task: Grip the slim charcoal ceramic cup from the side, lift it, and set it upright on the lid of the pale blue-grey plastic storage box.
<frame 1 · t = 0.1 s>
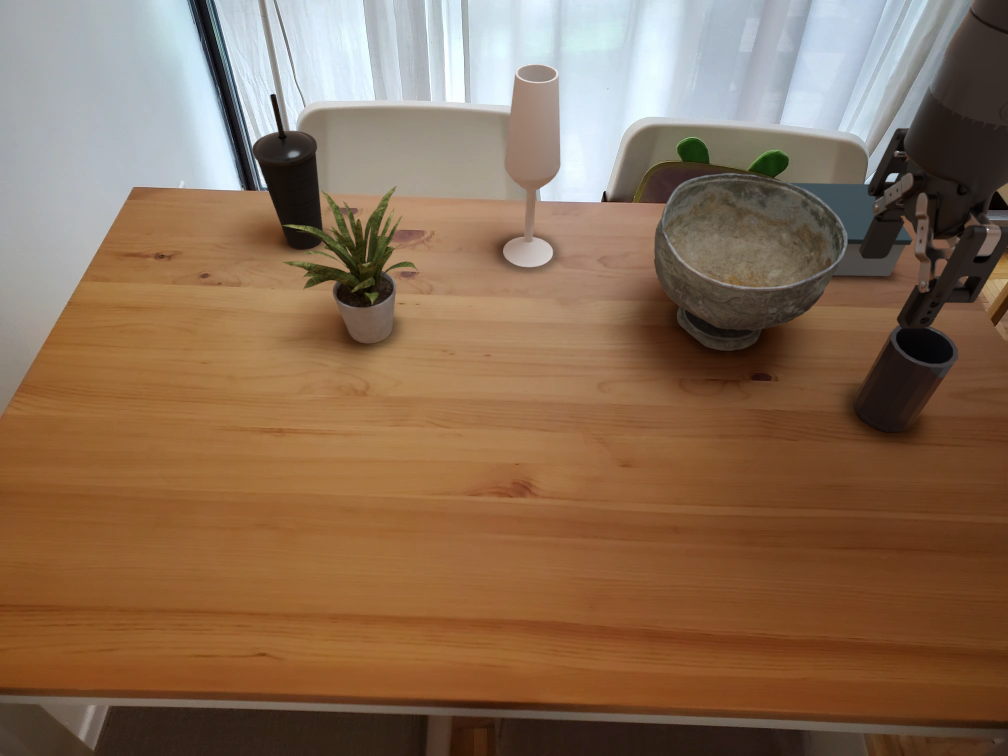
hand: (889, 288, 58), 22 cm above the table, tool pointing down, fingers open, 8 cm apart
bowl: (720, 327, 87), on the table
house plant: (371, 321, 86), on the table
container: (829, 247, 98), on the table
champagne flute: (528, 252, 96), on the table
drinking cup: (305, 239, 97), on the table
cup: (883, 410, 78), on the table
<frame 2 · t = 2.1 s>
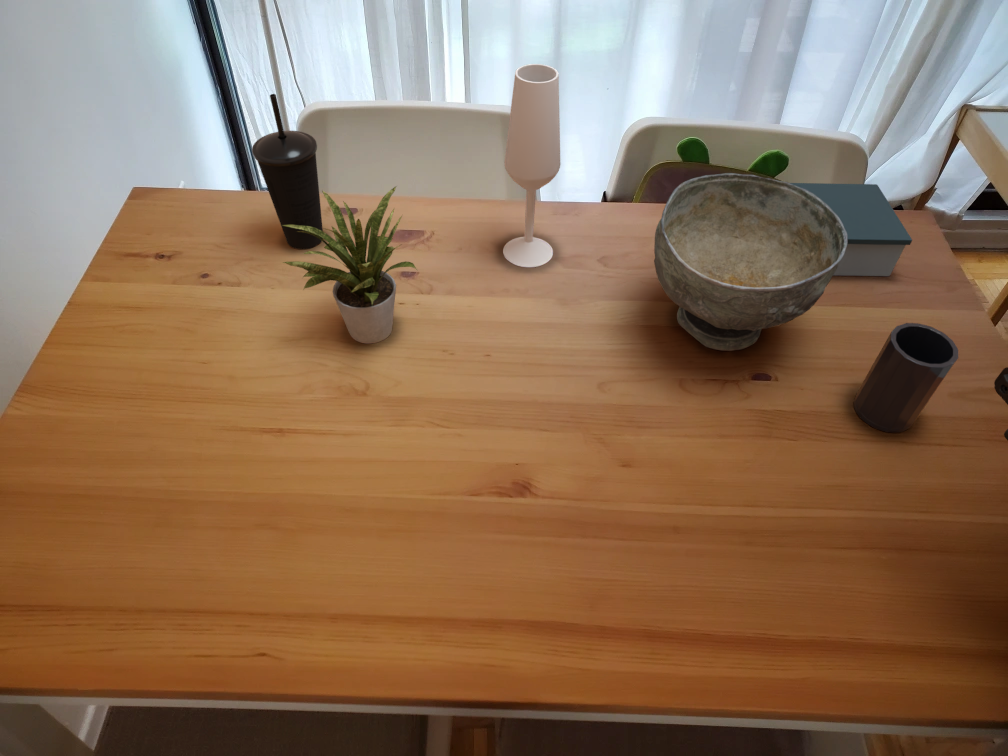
nothing on the table moved.
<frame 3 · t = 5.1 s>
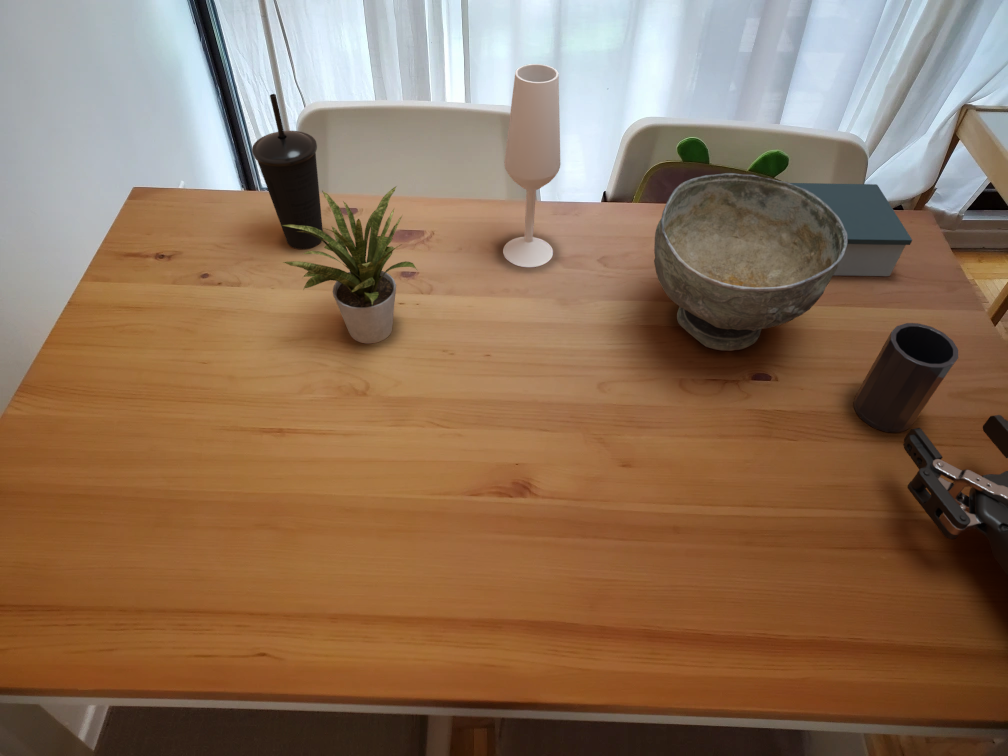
hand: (950, 427, 69), 6 cm above the table, tool horizontal, fingers open, 8 cm apart
nothing on the table moved.
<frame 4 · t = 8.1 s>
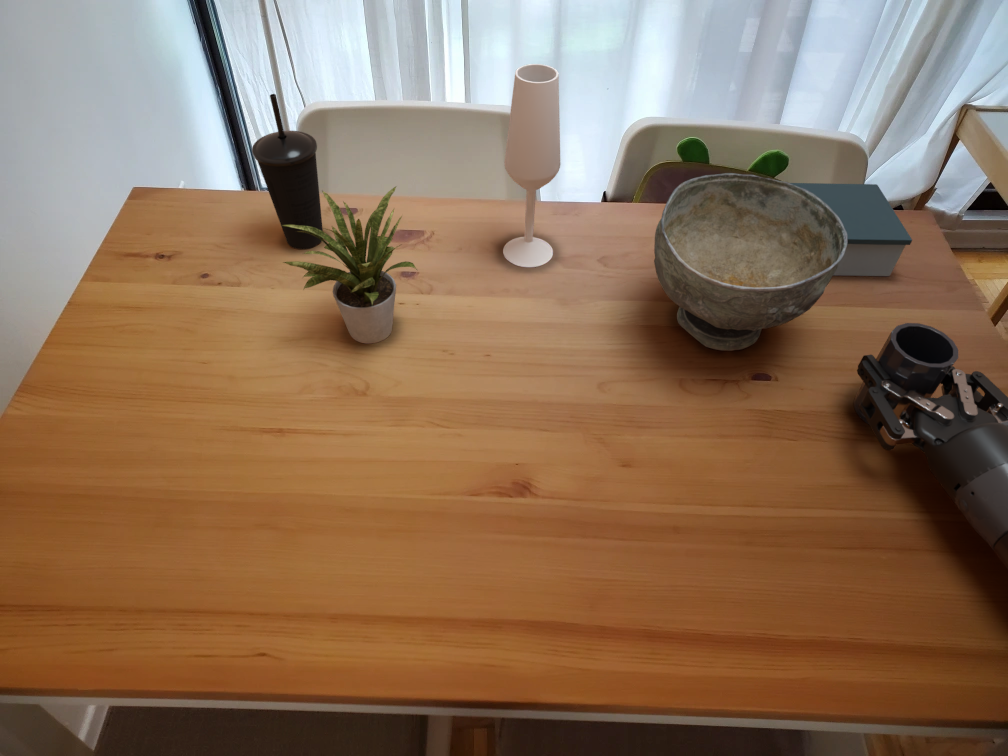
hand: (893, 356, 75), 6 cm above the table, tool horizontal, fingers closed on cup, 6 cm apart
cup: (883, 410, 78), on the table, touching gripper
everything else where it was.
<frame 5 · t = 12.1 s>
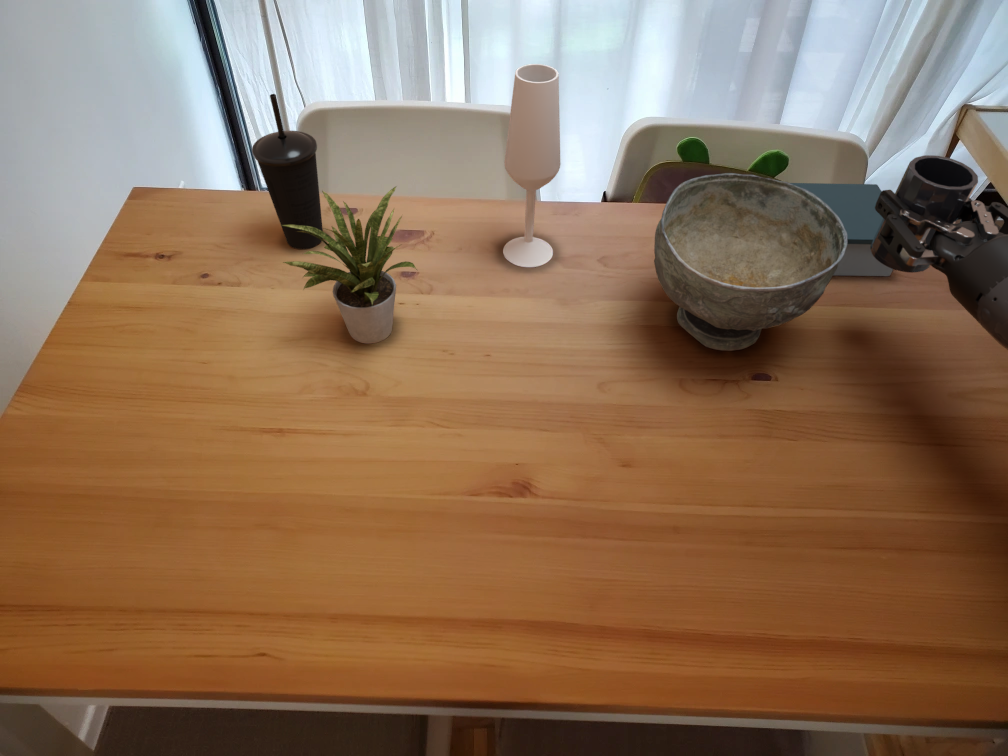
hand: (911, 194, 74), 18 cm above the table, tool horizontal, fingers closed on cup, 6 cm apart
cup: (900, 254, 77), point 12 cm above the table, touching gripper
everything else where it was.
when the fingers open (12 cm above the table, at t = 16.5 s): cup stays where it is, resting on container.
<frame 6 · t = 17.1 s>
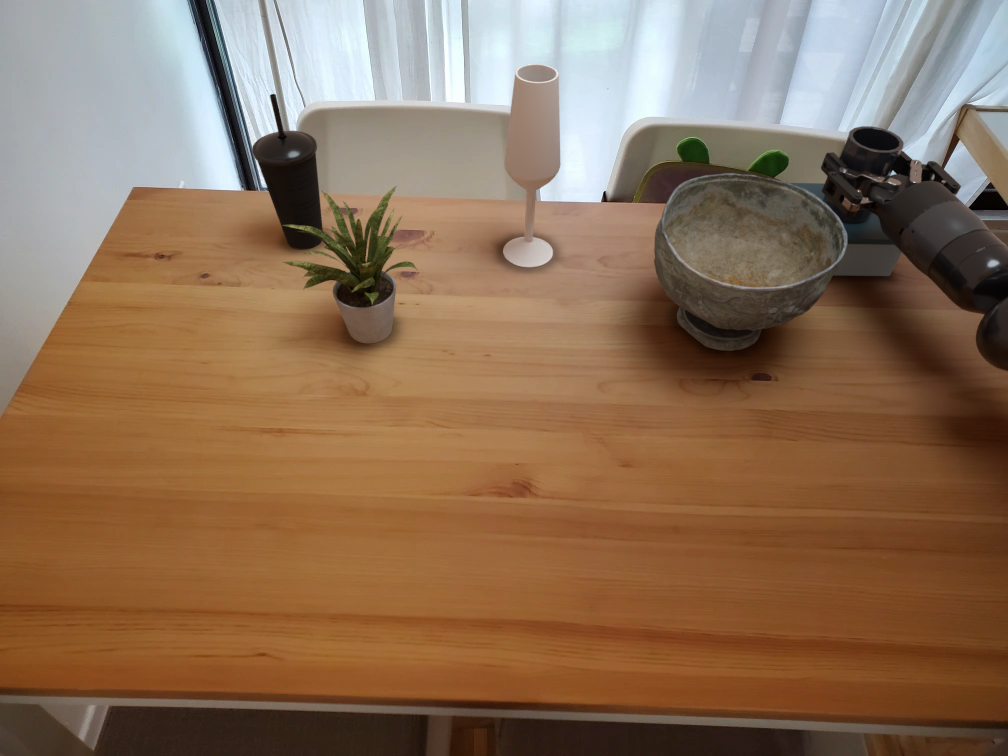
hand: (857, 155, 90), 13 cm above the table, tool horizontal, fingers open, 8 cm apart
cup: (845, 210, 93), point 6 cm above the table, touching container
everything else where it was.
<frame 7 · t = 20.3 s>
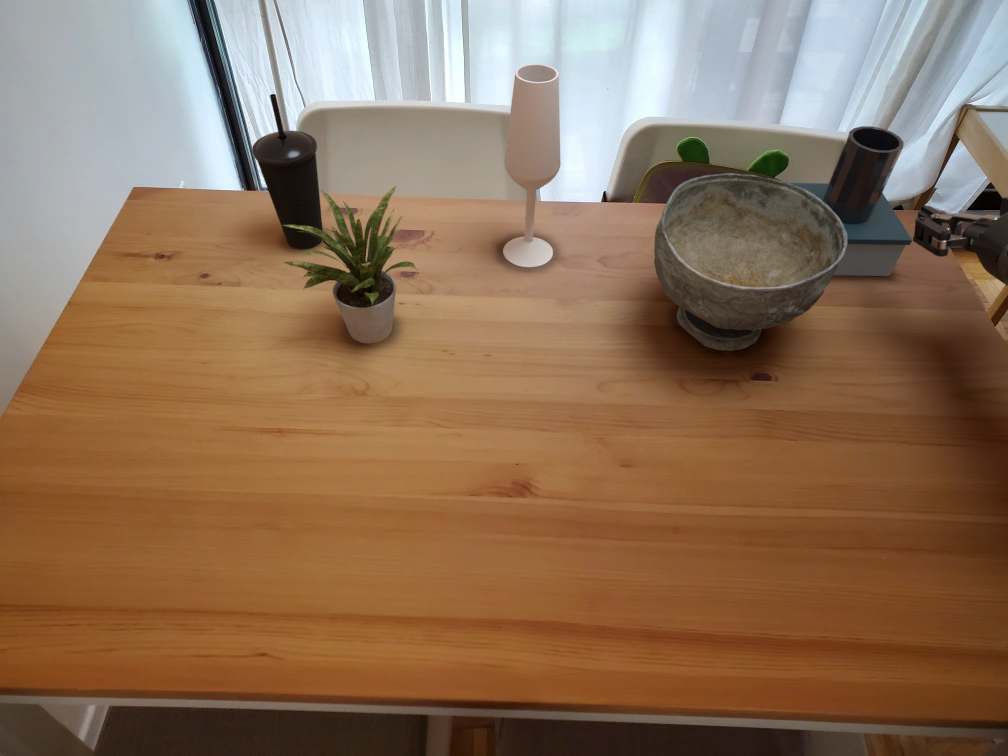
hand: (963, 210, 82), 13 cm above the table, tool tilted 70°, fingers open, 8 cm apart
nothing on the table moved.
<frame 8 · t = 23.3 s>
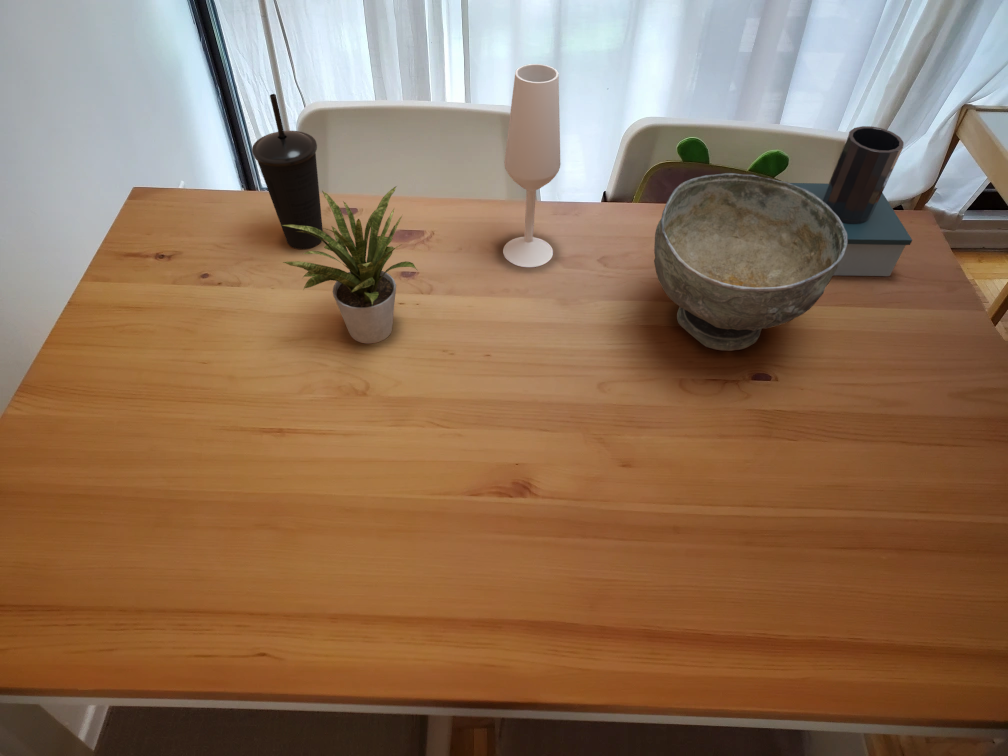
nothing on the table moved.
at the end: cup inside the target area on the container (0.1 cm from its centre), point 6.0 cm above the container's base; cup tilted 0°; the gripper is holding nothing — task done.
